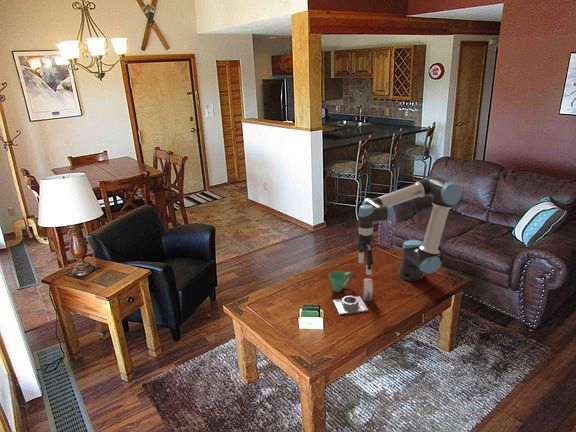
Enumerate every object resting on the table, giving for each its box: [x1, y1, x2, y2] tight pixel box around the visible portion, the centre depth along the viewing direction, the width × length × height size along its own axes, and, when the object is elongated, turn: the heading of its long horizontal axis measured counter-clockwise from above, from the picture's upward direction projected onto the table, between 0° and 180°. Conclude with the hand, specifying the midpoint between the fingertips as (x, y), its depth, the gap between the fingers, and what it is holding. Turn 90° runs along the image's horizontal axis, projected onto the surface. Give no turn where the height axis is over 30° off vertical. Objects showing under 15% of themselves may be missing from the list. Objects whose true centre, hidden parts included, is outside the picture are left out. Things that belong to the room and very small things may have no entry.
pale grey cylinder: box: [362, 277, 374, 302], centre depth 227 cm, size 5×5×12 cm
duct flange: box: [332, 295, 369, 316], centre depth 223 cm, size 16×14×4 cm
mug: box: [328, 270, 352, 293], centre depth 239 cm, size 15×10×10 cm
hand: (364, 268), depth 224 cm, fingers open, 13 cm apart
